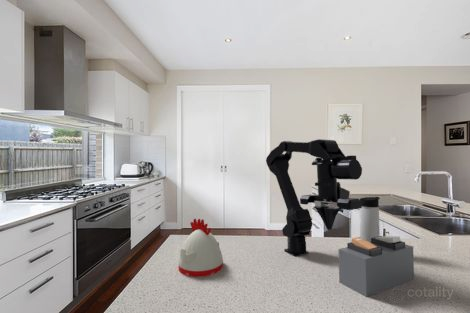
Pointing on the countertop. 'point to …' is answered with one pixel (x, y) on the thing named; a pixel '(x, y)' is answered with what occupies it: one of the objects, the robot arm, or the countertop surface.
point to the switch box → (375, 266)
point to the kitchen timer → (200, 252)
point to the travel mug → (369, 218)
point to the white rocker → (389, 239)
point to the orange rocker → (363, 243)
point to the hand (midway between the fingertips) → (329, 229)
